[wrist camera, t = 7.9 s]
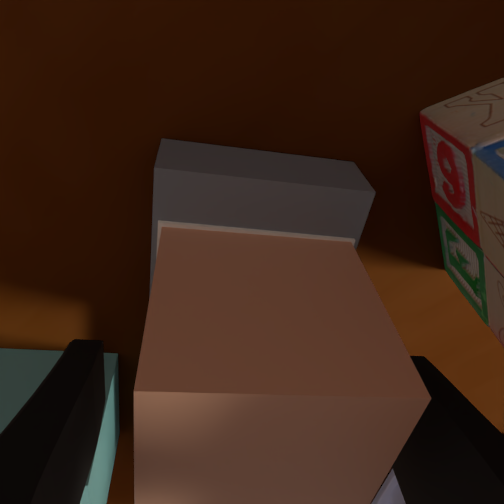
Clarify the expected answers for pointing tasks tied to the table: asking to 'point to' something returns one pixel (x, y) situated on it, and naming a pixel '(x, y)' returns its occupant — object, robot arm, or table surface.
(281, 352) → the salmon orange cube
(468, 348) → the table surface
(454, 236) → the stack of blocks
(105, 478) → the teal cube
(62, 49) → the table surface
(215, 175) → the base plate
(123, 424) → the table surface
